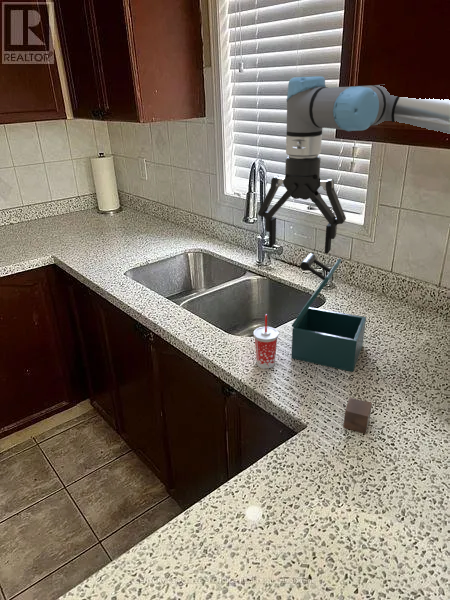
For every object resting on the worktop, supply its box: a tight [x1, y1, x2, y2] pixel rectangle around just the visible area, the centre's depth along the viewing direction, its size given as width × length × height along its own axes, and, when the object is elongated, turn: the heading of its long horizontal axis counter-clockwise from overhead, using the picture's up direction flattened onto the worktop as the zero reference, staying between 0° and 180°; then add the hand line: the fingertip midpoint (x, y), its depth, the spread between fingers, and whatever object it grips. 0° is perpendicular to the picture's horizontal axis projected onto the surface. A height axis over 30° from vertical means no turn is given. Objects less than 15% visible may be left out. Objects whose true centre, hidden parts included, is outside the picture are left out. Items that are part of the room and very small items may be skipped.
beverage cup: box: [253, 313, 280, 370], centre depth 109 cm, size 6×6×14 cm
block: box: [342, 397, 373, 435], centre depth 91 cm, size 4×4×4 cm
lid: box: [291, 253, 342, 329], centre depth 111 cm, size 16×13×8 cm
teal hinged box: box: [290, 306, 367, 373], centre depth 114 cm, size 16×13×9 cm
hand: (299, 248), depth 107 cm, fingers open, 13 cm apart
